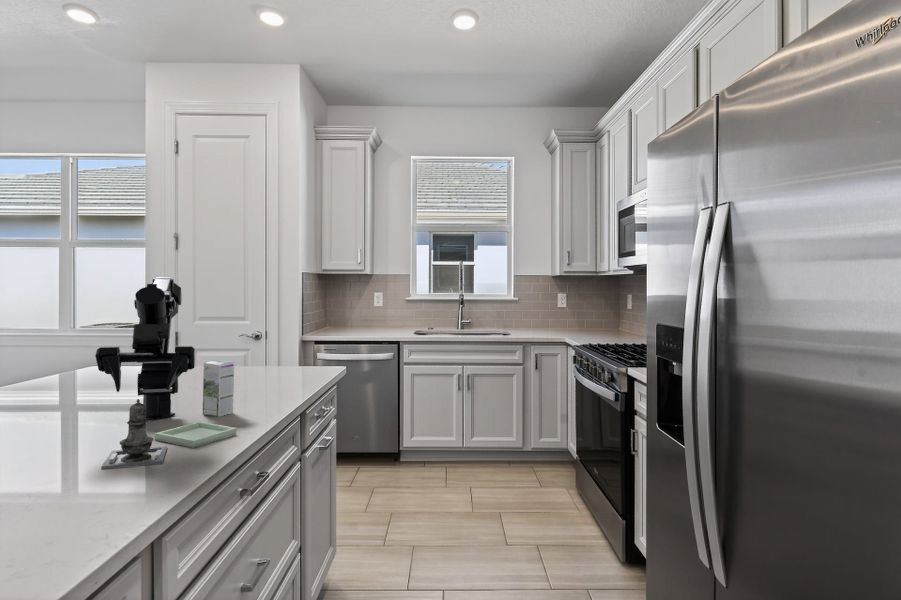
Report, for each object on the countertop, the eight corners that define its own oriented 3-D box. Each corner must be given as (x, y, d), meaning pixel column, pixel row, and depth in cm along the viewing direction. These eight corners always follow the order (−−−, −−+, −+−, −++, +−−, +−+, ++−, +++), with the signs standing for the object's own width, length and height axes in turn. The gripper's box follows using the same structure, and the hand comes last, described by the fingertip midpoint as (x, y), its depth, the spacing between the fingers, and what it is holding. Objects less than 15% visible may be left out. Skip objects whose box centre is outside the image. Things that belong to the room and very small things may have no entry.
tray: (154, 439, 113) (154, 433, 113) (199, 427, 124) (199, 421, 124) (193, 447, 108) (193, 440, 108) (236, 434, 119) (236, 428, 119)
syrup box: (234, 413, 140) (235, 361, 140) (217, 417, 134) (219, 363, 134) (217, 410, 142) (219, 359, 141) (201, 415, 136) (202, 362, 136)
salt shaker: (136, 464, 97) (138, 403, 97) (111, 461, 98) (113, 400, 98) (160, 455, 103) (162, 397, 103) (135, 452, 104) (137, 395, 104)
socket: (111, 453, 103) (111, 449, 103) (167, 448, 107) (167, 444, 107) (101, 469, 94) (101, 464, 94) (162, 463, 98) (162, 459, 98)
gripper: (98, 309, 108) (84, 368, 98) (195, 311, 115) (191, 365, 105) (105, 342, 115) (92, 400, 105) (196, 342, 123) (192, 395, 113)
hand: (143, 389), depth 107 cm, fingers open, 9 cm apart
